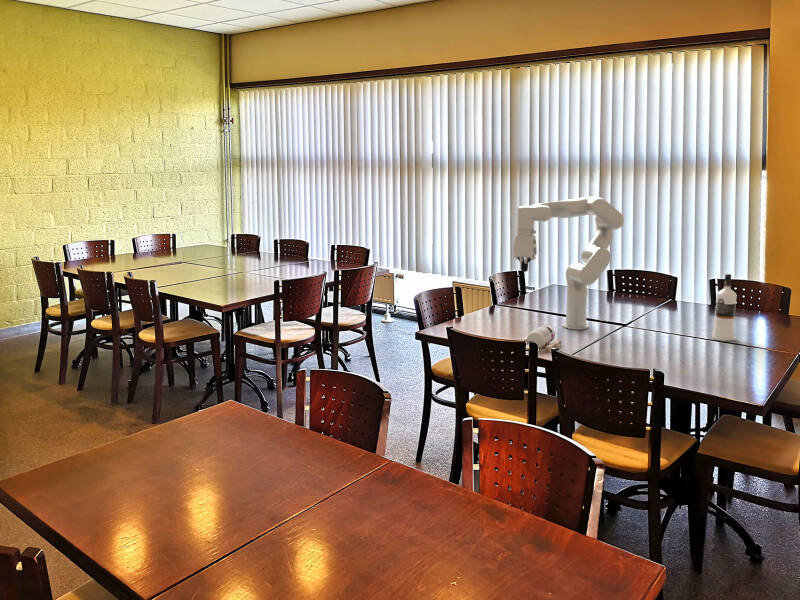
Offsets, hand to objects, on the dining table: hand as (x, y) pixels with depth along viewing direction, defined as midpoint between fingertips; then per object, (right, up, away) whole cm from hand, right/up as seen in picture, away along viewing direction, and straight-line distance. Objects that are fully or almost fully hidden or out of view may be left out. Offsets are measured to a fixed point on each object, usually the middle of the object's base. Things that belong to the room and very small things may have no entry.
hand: (524, 271), depth 345 cm
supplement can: (+7, -28, -16) cm, 34 cm away
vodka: (+88, -32, -12) cm, 95 cm away
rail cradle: (+2, -34, -22) cm, 41 cm away
